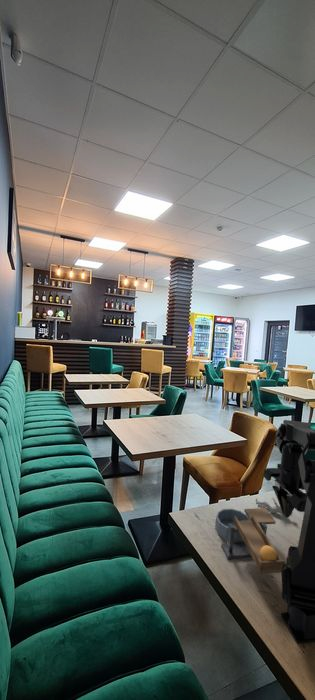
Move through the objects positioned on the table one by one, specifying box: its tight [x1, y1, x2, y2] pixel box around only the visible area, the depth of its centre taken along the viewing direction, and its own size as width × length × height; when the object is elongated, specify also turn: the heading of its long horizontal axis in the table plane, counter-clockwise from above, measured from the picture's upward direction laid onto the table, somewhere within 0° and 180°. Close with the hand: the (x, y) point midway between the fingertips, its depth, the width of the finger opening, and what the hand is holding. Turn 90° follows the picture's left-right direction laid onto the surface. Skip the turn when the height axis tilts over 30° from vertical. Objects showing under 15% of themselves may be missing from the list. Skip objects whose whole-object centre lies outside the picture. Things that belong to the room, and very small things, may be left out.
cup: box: [214, 508, 250, 543], centre depth 99 cm, size 11×11×4 cm
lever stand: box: [220, 522, 268, 560], centre depth 90 cm, size 5×13×8 cm, turn 100°
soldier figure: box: [255, 497, 293, 517], centre depth 111 cm, size 8×5×12 cm
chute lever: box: [234, 507, 286, 575], centre depth 87 cm, size 22×14×3 cm, turn 10°
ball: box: [260, 545, 277, 561], centre depth 79 cm, size 4×4×4 cm
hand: (285, 515), depth 89 cm, fingers closed
